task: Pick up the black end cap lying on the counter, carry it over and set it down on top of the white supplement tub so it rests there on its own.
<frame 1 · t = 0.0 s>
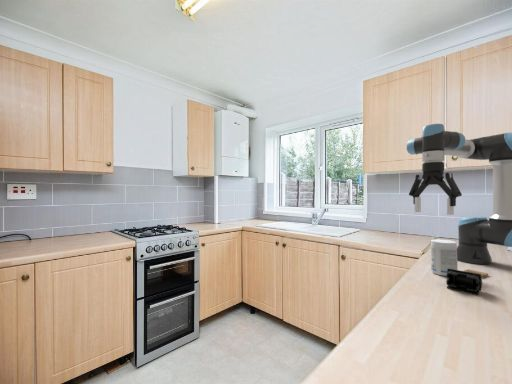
hand: (433, 213, 106), 28 cm above the counter, tool pointing down, fingers open, 13 cm apart
supplement tub: (443, 274, 115), on the counter
end cap: (463, 290, 97), on the counter
oak coaster: (474, 274, 113), on the counter
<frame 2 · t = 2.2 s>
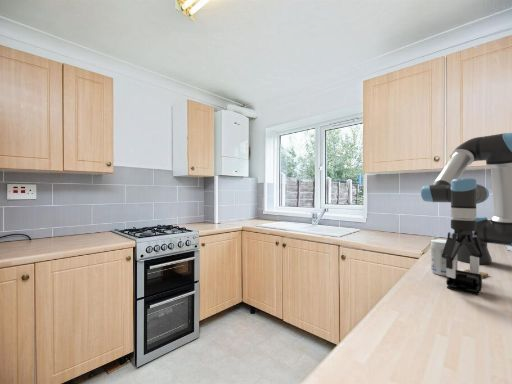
hand: (462, 275, 96), 5 cm above the counter, tool pointing down, fingers open, 13 cm apart
nothing on the counter moved.
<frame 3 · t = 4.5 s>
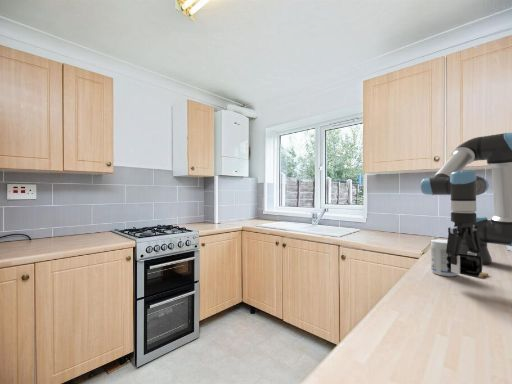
hand: (463, 270, 97), 7 cm above the counter, tool pointing down, fingers closed on end cap, 9 cm apart
end cap: (463, 272, 97), point 6 cm above the counter, touching gripper
everything else where it was.
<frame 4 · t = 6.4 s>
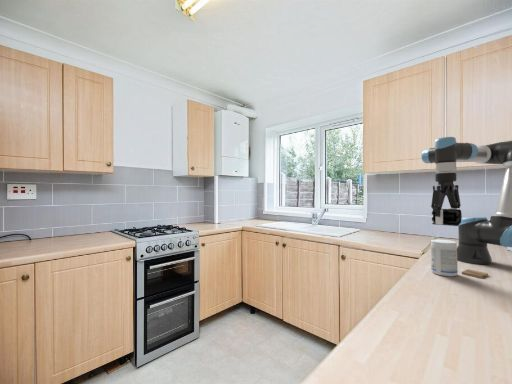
hand: (446, 223, 113), 23 cm above the counter, tool pointing down, fingers closed on end cap, 9 cm apart
end cap: (446, 224, 113), point 22 cm above the counter, touching gripper
everything else where it was.
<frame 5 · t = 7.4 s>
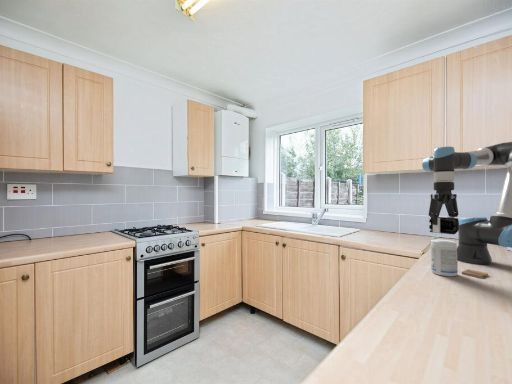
hand: (443, 231, 115), 19 cm above the counter, tool pointing down, fingers closed on end cap, 9 cm apart
end cap: (443, 232, 115), point 18 cm above the counter, touching gripper
everything else where it was.
when the fingers open (16 cm above the counter, at t = 8.4 s): end cap stays where it is, resting on supplement tub.
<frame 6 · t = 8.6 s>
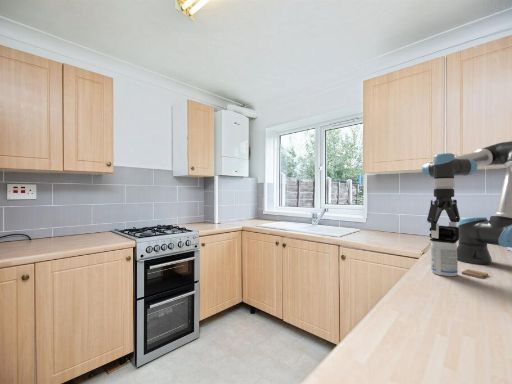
hand: (443, 237, 115), 16 cm above the counter, tool pointing down, fingers open, 11 cm apart
supplement tub: (443, 274, 115), on the counter, touching end cap
end cap: (443, 241, 115), point 14 cm above the counter, touching supplement tub
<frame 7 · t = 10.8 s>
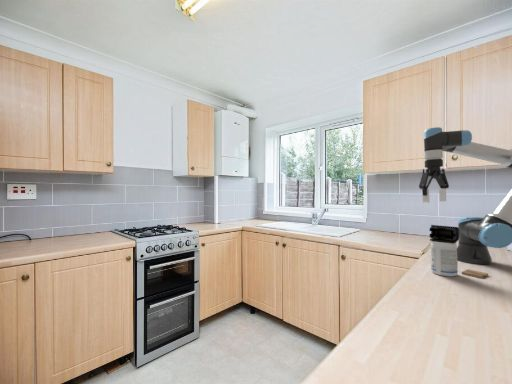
hand: (434, 201, 127), 32 cm above the counter, tool pointing down, fingers open, 13 cm apart
nothing on the counter moved.
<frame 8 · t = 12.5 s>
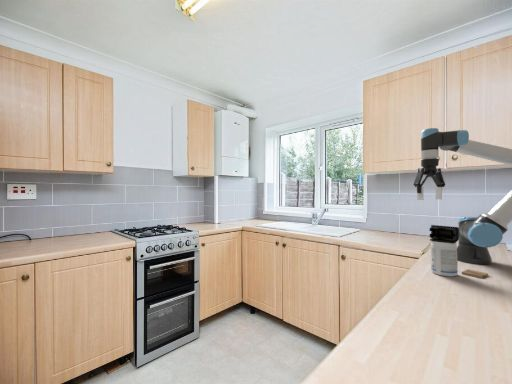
hand: (429, 199, 133), 33 cm above the counter, tool pointing down, fingers open, 13 cm apart
nothing on the counter moved.
at the end: end cap inside the target area on the supplement tub (0.1 cm from its centre), point 14.7 cm above the supplement tub's base; end cap touching supplement tub; supplement tub tilted 0° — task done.
